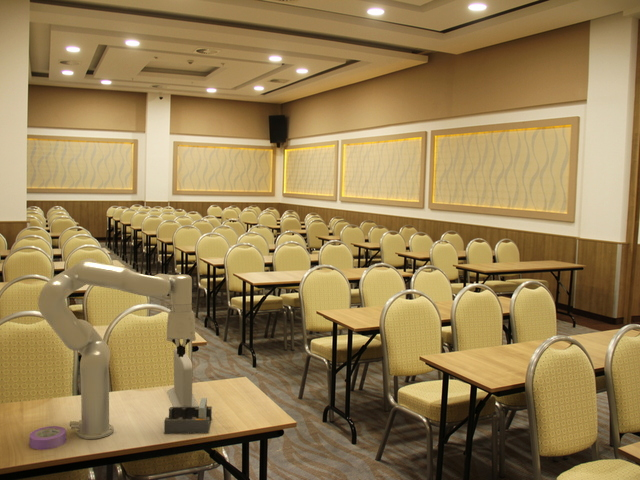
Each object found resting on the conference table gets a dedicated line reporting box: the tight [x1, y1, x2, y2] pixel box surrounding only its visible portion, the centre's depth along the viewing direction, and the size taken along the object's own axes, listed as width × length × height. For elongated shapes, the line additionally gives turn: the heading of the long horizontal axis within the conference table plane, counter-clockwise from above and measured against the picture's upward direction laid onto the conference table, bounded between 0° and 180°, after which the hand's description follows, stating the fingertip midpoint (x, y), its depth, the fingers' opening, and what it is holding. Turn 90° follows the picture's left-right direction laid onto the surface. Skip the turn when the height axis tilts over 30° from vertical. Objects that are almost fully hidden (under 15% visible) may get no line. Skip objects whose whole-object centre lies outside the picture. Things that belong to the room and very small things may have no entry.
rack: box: [163, 405, 213, 435], centre depth 228 cm, size 16×14×5 cm
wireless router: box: [166, 347, 200, 407], centre depth 256 cm, size 31×10×20 cm, turn 22°
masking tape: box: [28, 425, 67, 451], centre depth 211 cm, size 12×12×4 cm
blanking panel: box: [198, 397, 208, 419], centre depth 228 cm, size 2×11×8 cm, turn 6°
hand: (181, 356), depth 226 cm, fingers closed
